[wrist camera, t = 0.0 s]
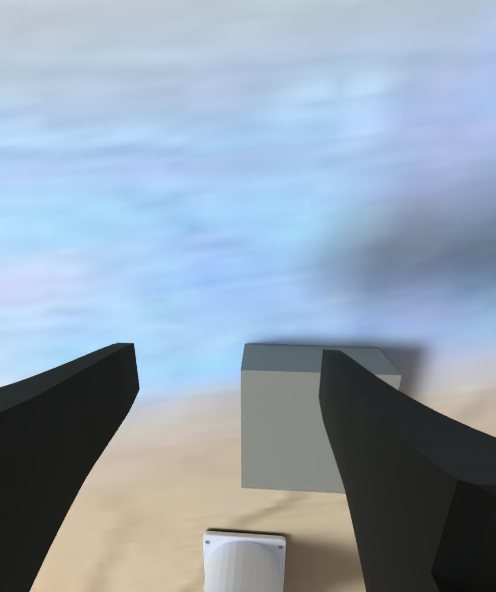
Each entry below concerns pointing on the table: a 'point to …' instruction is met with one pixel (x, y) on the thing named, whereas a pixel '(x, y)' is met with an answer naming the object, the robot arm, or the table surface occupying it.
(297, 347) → the gray block
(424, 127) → the table surface
